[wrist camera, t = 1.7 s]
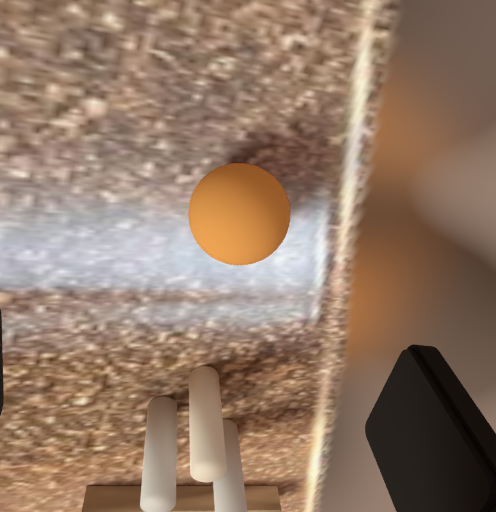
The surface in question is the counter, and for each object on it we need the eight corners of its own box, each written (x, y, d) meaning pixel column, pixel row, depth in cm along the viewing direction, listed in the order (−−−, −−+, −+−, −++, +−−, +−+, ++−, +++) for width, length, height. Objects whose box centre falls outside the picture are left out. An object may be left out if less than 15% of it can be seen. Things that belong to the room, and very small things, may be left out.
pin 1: (149, 395, 39) (141, 492, 31) (178, 396, 39) (177, 492, 32) (146, 416, 40) (138, 514, 33) (175, 417, 40) (174, 514, 33)
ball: (193, 143, 29) (196, 179, 24) (289, 156, 30) (311, 193, 25) (183, 231, 32) (183, 280, 26) (270, 239, 33) (287, 288, 28)
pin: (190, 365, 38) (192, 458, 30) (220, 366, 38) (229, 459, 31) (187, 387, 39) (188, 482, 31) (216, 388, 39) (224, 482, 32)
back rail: (86, 485, 43) (81, 512, 41) (277, 485, 47) (281, 510, 45) (86, 499, 44) (81, 525, 42) (272, 498, 48) (277, 522, 46)
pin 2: (211, 418, 41) (218, 514, 34) (239, 419, 41) (251, 514, 34) (208, 437, 42) (213, 534, 35) (234, 438, 42) (245, 533, 35)
